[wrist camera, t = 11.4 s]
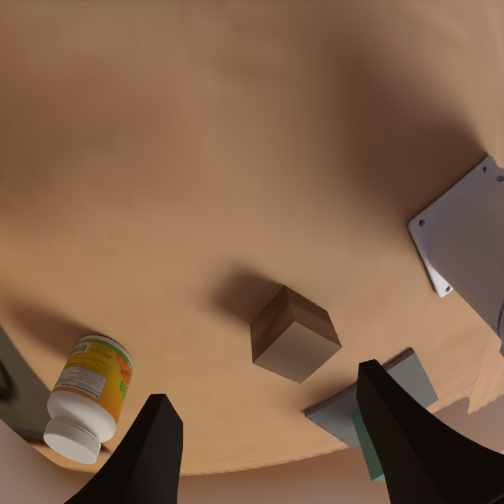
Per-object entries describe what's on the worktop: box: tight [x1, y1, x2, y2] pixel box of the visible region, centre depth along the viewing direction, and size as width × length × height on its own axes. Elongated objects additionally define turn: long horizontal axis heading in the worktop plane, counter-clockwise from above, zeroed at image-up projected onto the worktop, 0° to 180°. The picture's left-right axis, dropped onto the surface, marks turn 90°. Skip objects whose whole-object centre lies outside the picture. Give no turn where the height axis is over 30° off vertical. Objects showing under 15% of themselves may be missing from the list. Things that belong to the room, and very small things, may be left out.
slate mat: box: [304, 349, 438, 448], centre depth 27 cm, size 12×12×1 cm
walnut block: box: [250, 286, 342, 384], centre depth 20 cm, size 4×4×4 cm
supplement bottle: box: [43, 335, 133, 464], centre depth 18 cm, size 5×5×10 cm
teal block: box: [352, 411, 385, 481], centre depth 23 cm, size 4×4×8 cm
